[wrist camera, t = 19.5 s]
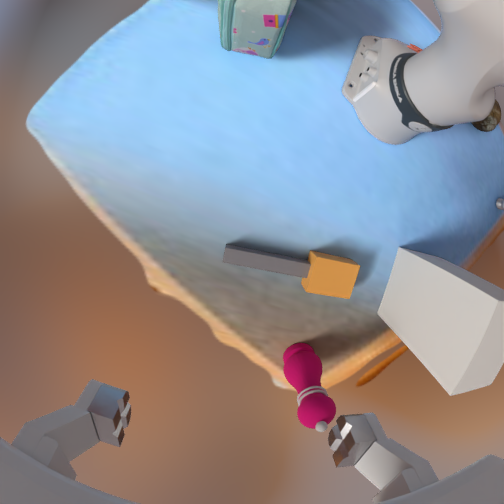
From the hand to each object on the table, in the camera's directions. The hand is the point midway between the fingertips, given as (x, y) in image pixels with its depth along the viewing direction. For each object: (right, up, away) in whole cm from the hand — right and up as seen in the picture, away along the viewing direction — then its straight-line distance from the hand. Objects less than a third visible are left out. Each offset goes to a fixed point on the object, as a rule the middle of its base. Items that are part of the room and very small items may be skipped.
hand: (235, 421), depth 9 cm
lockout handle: (+7, +4, +38) cm, 39 cm away
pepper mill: (+10, -14, +43) cm, 46 cm away
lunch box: (+2, +50, +26) cm, 56 cm away
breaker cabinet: (+33, -1, +40) cm, 52 cm away
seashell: (+52, +38, +31) cm, 71 cm away
